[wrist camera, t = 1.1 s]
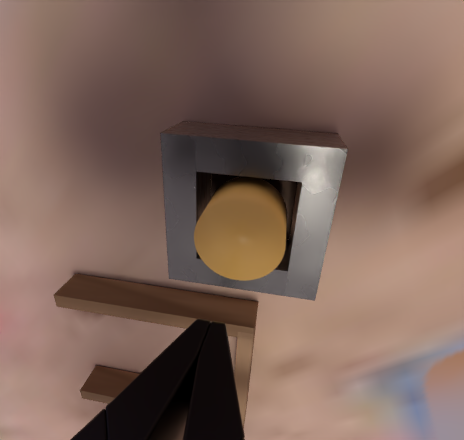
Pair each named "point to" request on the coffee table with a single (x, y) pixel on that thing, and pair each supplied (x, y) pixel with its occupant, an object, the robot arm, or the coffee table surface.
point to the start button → (243, 229)
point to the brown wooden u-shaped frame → (161, 312)
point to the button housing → (259, 166)
